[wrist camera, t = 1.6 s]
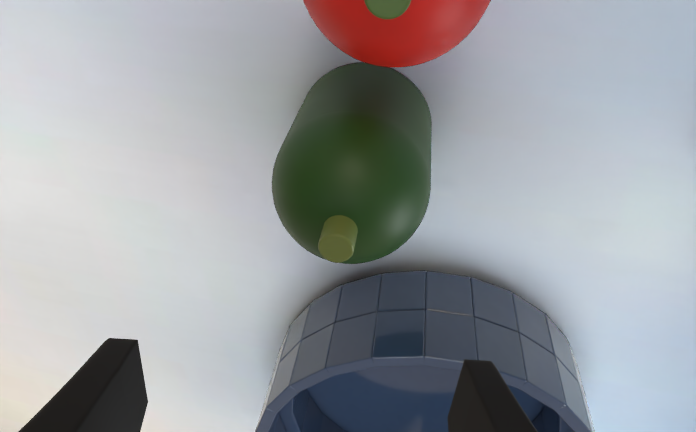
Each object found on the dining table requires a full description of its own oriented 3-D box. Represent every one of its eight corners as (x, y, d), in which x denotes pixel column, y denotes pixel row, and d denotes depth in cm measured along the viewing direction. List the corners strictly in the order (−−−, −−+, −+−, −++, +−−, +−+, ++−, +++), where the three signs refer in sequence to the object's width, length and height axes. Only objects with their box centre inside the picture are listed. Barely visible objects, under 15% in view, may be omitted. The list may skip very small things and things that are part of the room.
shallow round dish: (333, 218, 22) (309, 305, 18) (639, 329, 23) (684, 435, 19) (254, 409, 30) (224, 501, 25) (486, 485, 31) (494, 584, 27)
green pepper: (296, 60, 18) (233, 162, 13) (436, 64, 18) (436, 173, 12) (304, 179, 21) (254, 310, 15) (426, 186, 20) (423, 324, 15)
